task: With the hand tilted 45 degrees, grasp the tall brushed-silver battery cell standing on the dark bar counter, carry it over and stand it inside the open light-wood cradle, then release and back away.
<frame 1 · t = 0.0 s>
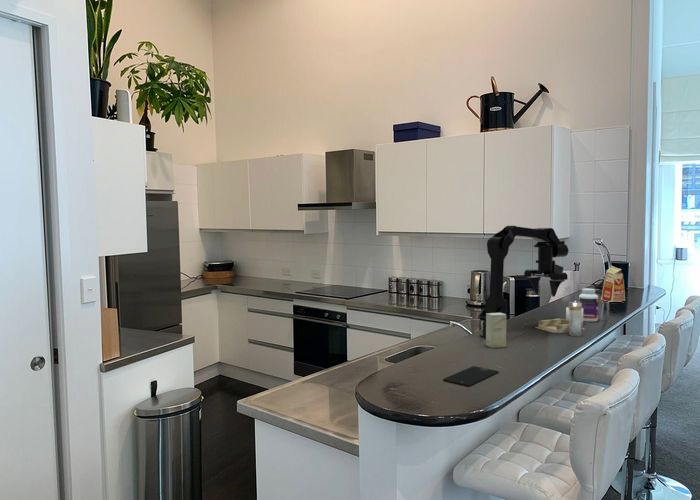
hand: (545, 295, 217), 15 cm above the countertop, tool pointing down, fingers open, 9 cm apart
skincare box: (496, 346, 191), on the countertop
white rounded cylinder: (574, 323, 229), on the countertop
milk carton: (613, 302, 286), on the countertop
pill bottle: (588, 321, 235), on the countertop
cell phone: (471, 378, 155), on the countertop
cell: (575, 334, 207), on the countertop
cradle: (559, 329, 219), on the countertop
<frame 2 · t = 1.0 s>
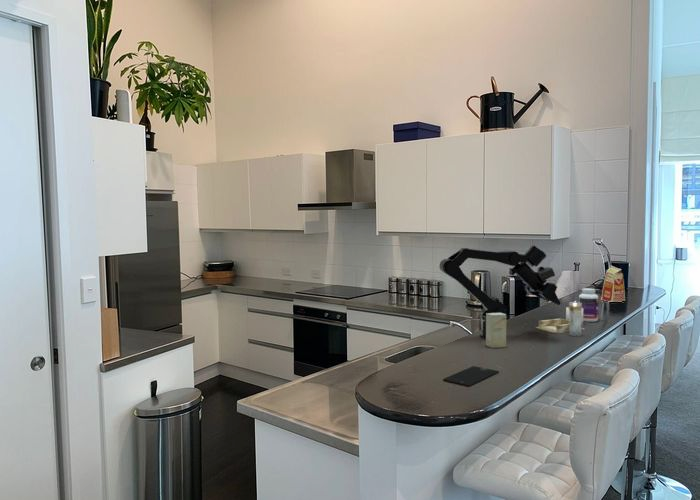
hand: (554, 302, 206), 13 cm above the countertop, tool tilted 45°, fingers open, 9 cm apart
nothing on the countertop moved.
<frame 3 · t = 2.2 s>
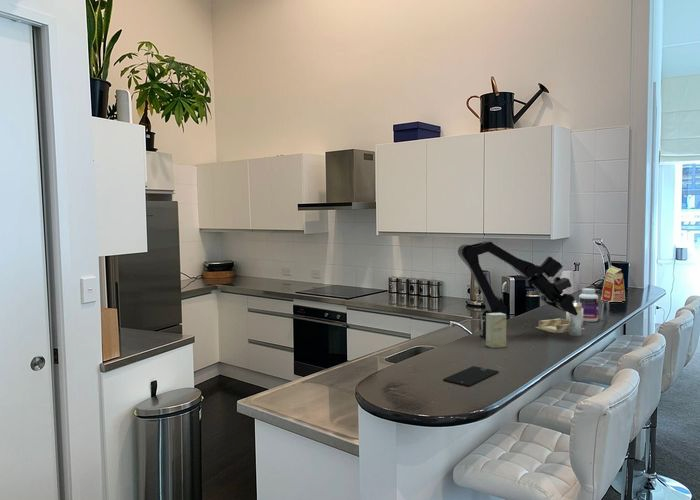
hand: (571, 312, 207), 9 cm above the countertop, tool tilted 45°, fingers open, 9 cm apart
nothing on the countertop moved.
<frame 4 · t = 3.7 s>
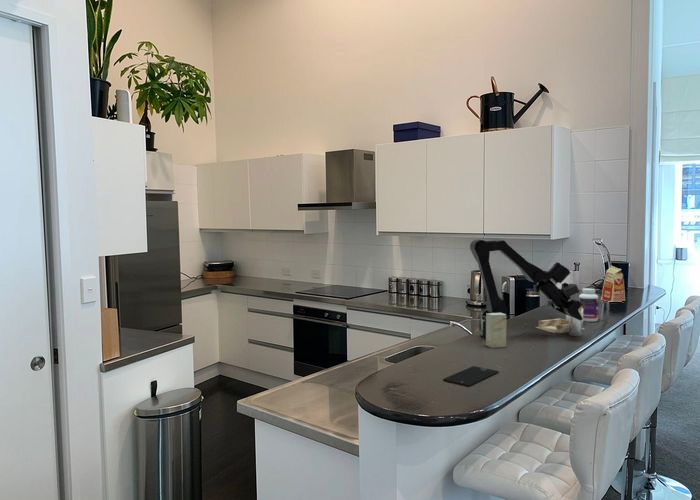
hand: (578, 318, 207), 7 cm above the countertop, tool tilted 45°, fingers closed on cell, 5 cm apart
cell: (575, 334, 207), on the countertop, touching gripper
everything else where it was.
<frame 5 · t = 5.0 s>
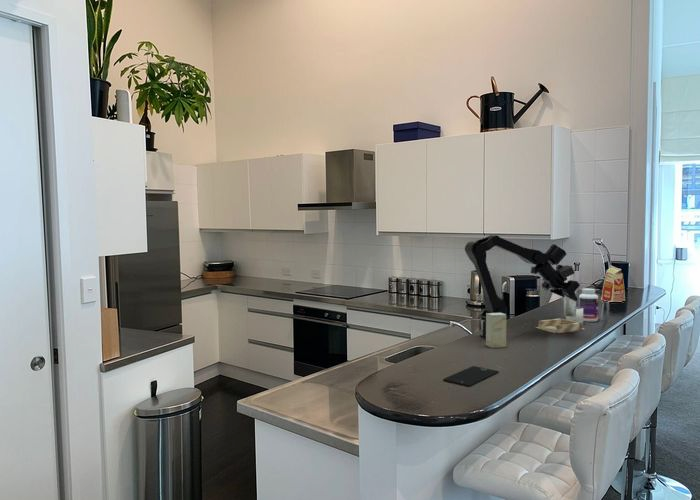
hand: (573, 299, 211), 14 cm above the countertop, tool tilted 45°, fingers closed on cell, 5 cm apart
cell: (569, 315, 212), point 7 cm above the countertop, touching gripper
everything else where it was.
when the fingers open (8 cm above the countertop, at t = 6.7 s): cell drops 1 cm, resting on cradle.
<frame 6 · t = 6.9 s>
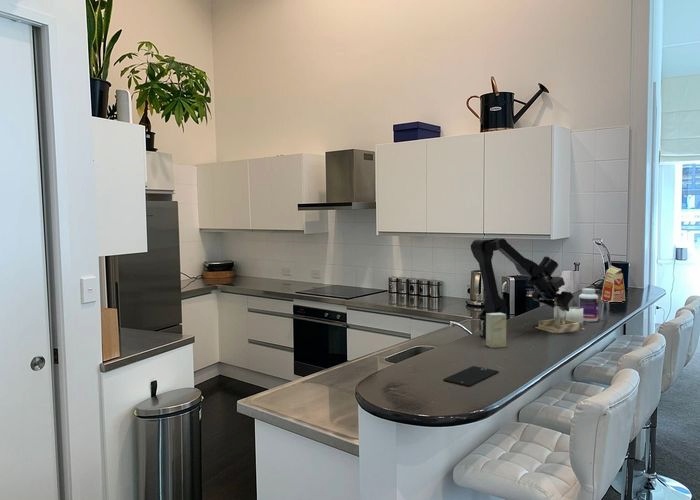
hand: (562, 309, 219), 8 cm above the countertop, tool tilted 45°, fingers open, 6 cm apart
cell: (559, 327, 219), point 1 cm above the countertop, touching cradle
everything else where it was.
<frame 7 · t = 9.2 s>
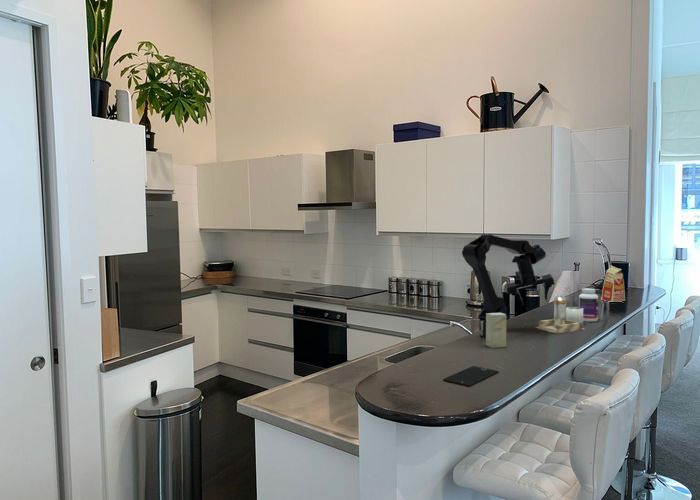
hand: (534, 302, 217), 12 cm above the countertop, tool tilted 20°, fingers open, 9 cm apart
nothing on the countertop moved.
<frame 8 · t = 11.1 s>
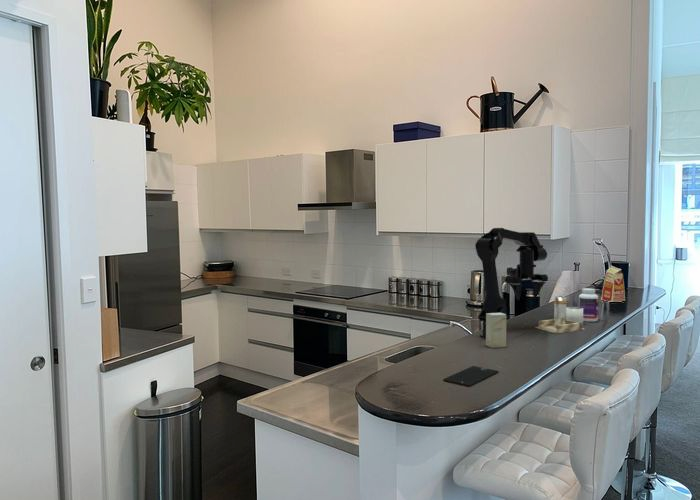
hand: (526, 299, 218), 13 cm above the countertop, tool pointing down, fingers open, 9 cm apart
nothing on the countertop moved.
at the end: cell inside the target area on the cradle (0.2 cm from its centre), point 0.5 cm above the cradle's base; cell tilted 1°; the gripper is holding nothing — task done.
